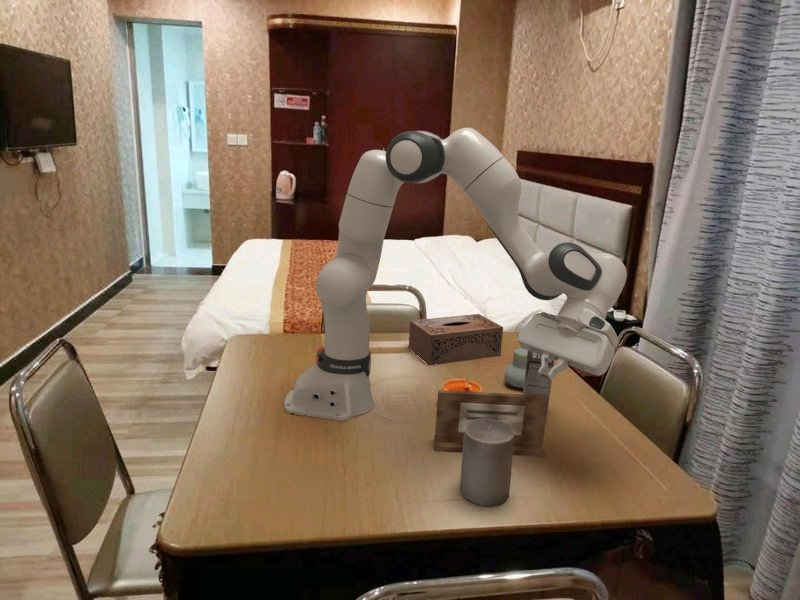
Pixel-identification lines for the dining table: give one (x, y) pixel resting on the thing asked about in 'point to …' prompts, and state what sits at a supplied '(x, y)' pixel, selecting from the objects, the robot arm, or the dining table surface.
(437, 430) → the label placard
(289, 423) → the dining table surface
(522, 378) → the air freshener
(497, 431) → the pillar candle
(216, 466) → the dining table surface
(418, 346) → the tissue box cover
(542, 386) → the coffee box
